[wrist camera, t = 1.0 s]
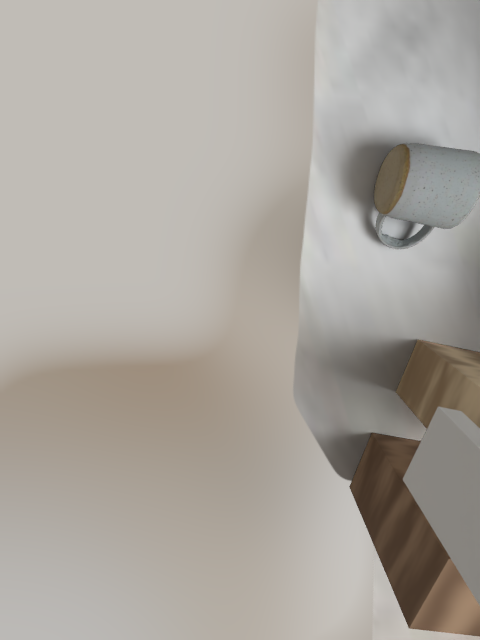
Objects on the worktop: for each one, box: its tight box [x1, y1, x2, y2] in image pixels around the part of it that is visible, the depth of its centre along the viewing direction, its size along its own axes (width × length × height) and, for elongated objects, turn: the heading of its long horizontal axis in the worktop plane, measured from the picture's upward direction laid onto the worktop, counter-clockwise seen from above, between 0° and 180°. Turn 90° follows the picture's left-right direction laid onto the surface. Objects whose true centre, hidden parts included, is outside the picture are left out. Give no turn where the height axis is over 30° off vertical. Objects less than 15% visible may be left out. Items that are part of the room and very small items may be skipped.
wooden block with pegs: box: [350, 433, 480, 636], centre depth 44 cm, size 16×11×22 cm, turn 77°
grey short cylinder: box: [374, 143, 480, 249], centre depth 38 cm, size 11×8×8 cm
